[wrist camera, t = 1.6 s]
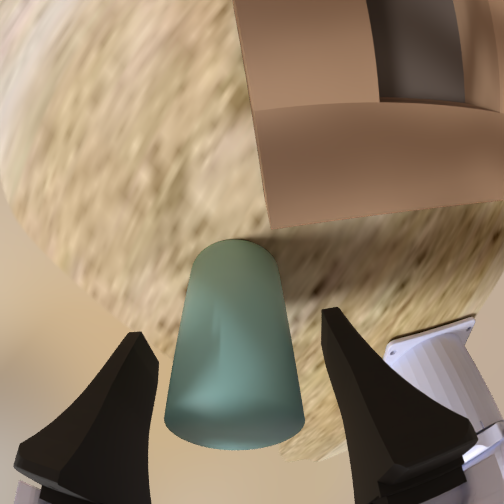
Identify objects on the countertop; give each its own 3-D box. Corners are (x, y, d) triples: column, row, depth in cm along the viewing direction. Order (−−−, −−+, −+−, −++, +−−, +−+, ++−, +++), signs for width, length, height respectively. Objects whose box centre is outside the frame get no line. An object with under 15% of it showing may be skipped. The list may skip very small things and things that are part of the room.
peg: (282, 304, 16) (305, 443, 9) (203, 314, 16) (189, 451, 9) (273, 232, 14) (304, 385, 7) (180, 247, 14) (140, 396, 7)
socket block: (501, 175, 12) (535, 197, 10) (264, 197, 13) (271, 229, 10) (479, -47, 5) (513, -54, 2) (214, -89, 5) (208, -123, 3)
